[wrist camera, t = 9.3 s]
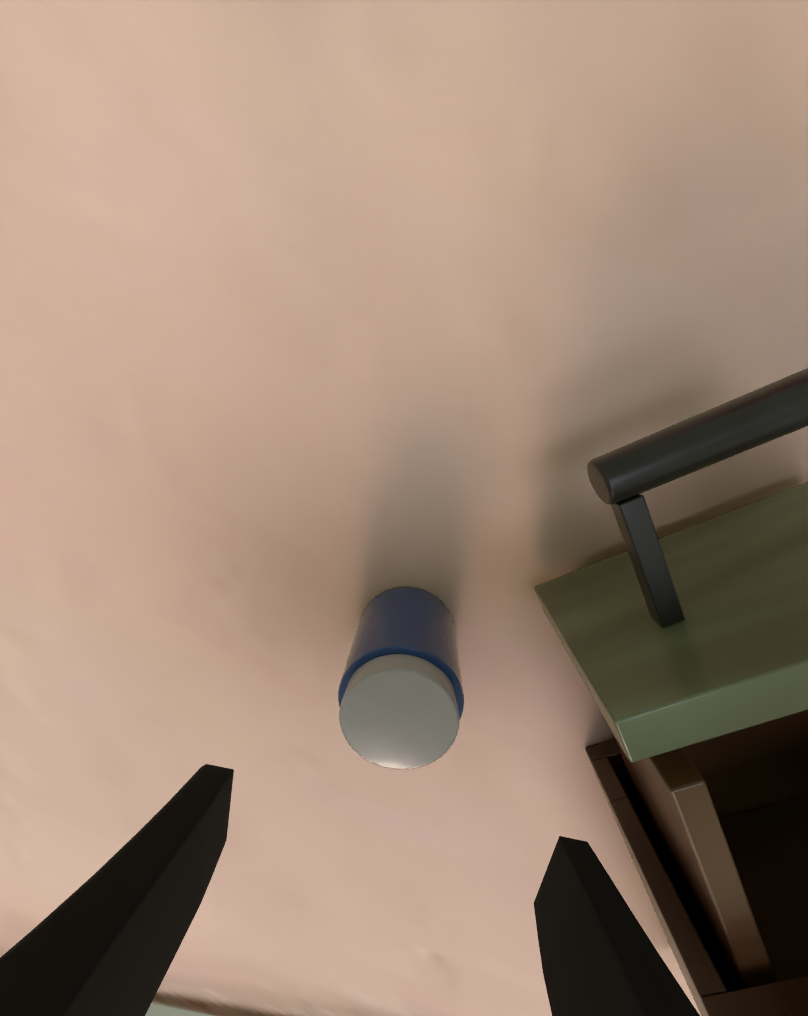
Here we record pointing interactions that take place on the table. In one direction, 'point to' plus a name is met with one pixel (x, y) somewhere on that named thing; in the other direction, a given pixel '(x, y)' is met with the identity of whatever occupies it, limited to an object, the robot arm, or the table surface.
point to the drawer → (709, 677)
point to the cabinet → (685, 909)
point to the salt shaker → (402, 681)
